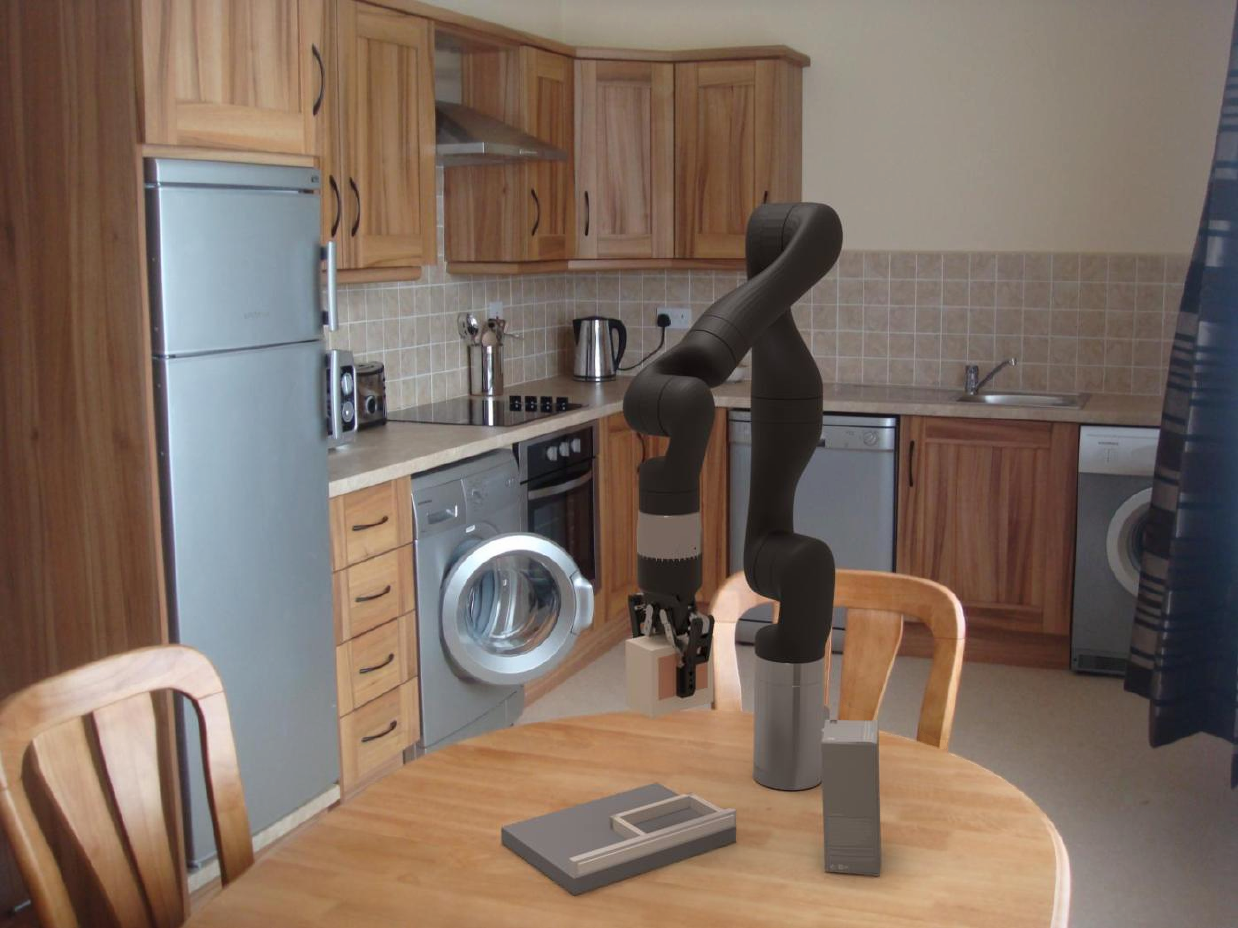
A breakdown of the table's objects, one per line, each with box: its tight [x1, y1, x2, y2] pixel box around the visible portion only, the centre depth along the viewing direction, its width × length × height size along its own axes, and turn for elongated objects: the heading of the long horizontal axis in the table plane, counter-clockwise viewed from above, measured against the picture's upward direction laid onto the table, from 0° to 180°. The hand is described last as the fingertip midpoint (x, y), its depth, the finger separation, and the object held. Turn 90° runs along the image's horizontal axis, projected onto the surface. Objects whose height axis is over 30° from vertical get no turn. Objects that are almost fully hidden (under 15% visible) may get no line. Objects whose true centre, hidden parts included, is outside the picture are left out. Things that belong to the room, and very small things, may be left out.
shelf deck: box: [500, 781, 737, 897], centre depth 162 cm, size 23×16×4 cm
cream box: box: [625, 633, 714, 719], centre depth 159 cm, size 9×5×8 cm, turn 125°
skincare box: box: [821, 719, 882, 877], centre depth 157 cm, size 8×7×16 cm
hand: (670, 688), depth 159 cm, fingers closed on cream box, 5 cm apart
